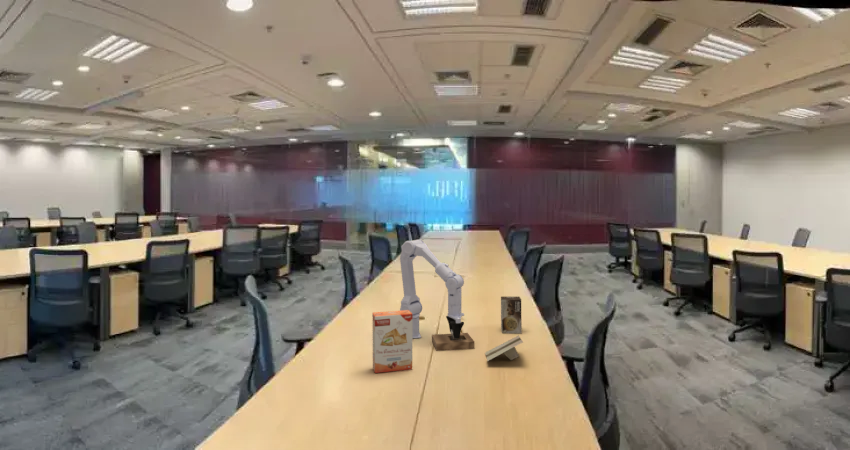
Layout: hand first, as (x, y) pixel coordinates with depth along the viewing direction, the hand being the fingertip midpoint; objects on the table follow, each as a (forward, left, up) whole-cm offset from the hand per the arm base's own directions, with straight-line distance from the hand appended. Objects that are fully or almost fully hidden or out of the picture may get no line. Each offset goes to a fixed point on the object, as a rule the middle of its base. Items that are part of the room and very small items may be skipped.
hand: (454, 335), depth 179 cm
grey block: (+1, 0, -4) cm, 4 cm away
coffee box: (+30, +14, -4) cm, 33 cm away
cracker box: (-28, -22, -4) cm, 36 cm away
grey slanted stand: (+15, -19, -5) cm, 25 cm away
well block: (-1, 0, -4) cm, 4 cm away
